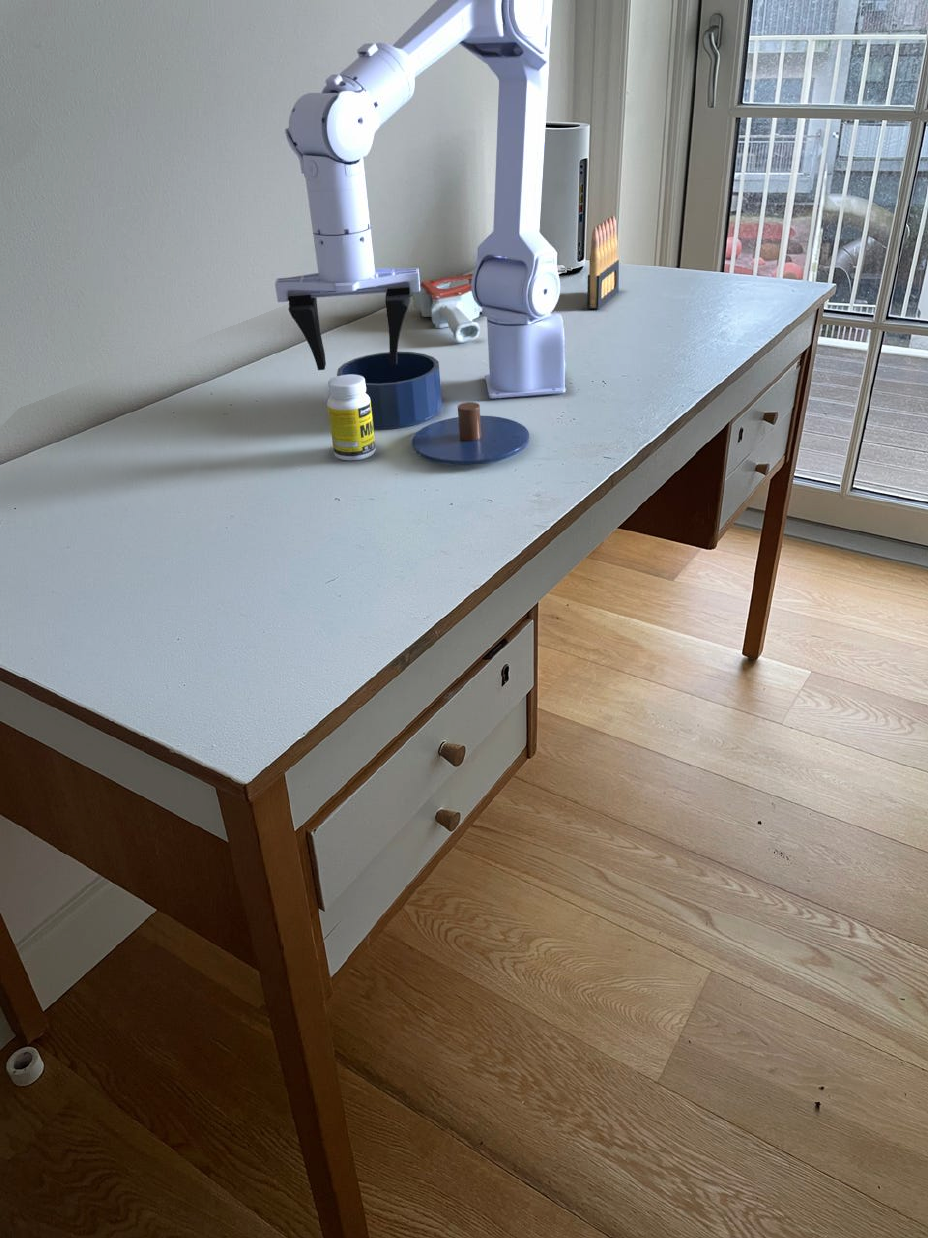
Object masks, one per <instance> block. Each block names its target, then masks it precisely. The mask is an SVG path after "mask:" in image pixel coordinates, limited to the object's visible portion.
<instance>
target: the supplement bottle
mask: <svg viewBox="0 0 928 1238" xmlns="http://www.w3.org/2000/svg"><path fill="white" fill-rule="evenodd" d="M327 388H328V389H327V390H328V395H329V396H330V397H329V398H328V400H327V404H326V406H327V413H328V419H329V426H330V435H331V442H332V450H333V454H334V456H335V457H336V458H337V459H339V460H342V461H361V460H364V459H368V458H370V457H371V456H372V455H374V454H375V453H376V449H377V447H376V438H375V436H376V435H375V429H374V428H373V419H372V410H371V401H370V397H369V396H368V395H367V394H366V393H365V392H366V385H365V379H364V377H362V376H360V375H341V376H337V375H336V376H334V377H332V378H330V379H328V382H327Z"/></svg>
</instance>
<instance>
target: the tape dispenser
mask: <svg viewBox="0 0 928 1238" xmlns="http://www.w3.org/2000/svg"><path fill="white" fill-rule="evenodd" d="M472 275H473V273H469V274H461V275H453V276H447V277H442V278H436V279H430V280H425V281H420V292H411V294H412V303H413V307H414V309H415V310H416V311H417V310H419V311H420V312H421V317H426V318H428V317H430V318H431V322H432V323H433V324H434V327H435V328H436V329H443V328H449V330H450V331H451V332H452V334H453V338H454V341H455V342H456V343H458V344H462V343H467V342H471V341H474V340H476V339H478V337H479V336H480V333H481V327H480V325H479V323H478V322H477V321H473V320H475V319H477V318H479V317H480V314H482V307H480V306H479V305H477V303H476V302H475V300H474V298H473V295H472V290H471V280H472ZM462 280H468V283H465V284H461V285H457V286H453V287H450V284H451V283H452V282H455V281H462Z"/></svg>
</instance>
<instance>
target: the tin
mask: <svg viewBox="0 0 928 1238" xmlns="http://www.w3.org/2000/svg"><path fill="white" fill-rule="evenodd" d="M341 375H360V376H362V377H364V379H365V385H366V392H365V393H366V394H367V395H368V396H369V397H370V401H371V410H372V419H373V428H374V430H395V429H396V430H397V429H403V428H410V427H412V426H413V427H414V426H418V425H420V424H423V423H426V422H428V421H430V420H432V419H434V418H436V417H437V416H439V415H440V414H441V412H442V410H443V400H442V398H443V397H442V388H441V387H442V386H441V373H440V361H438V359H436V358H435V357H434V356H431V355H429V354H426V353H421V352H416V351H415V352H414V351H397V364H396V365H391V363H390V351H388V352H387V351H386V352H377V353H372V354H366V355H363V356H359V357H356V358H353V359H351V360H349V361H347V362H344V363H343V364H342V365H340V366H339V367H338V368H337V372H336V377H337V376H341Z"/></svg>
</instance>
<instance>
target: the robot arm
mask: <svg viewBox="0 0 928 1238" xmlns="http://www.w3.org/2000/svg"><path fill="white" fill-rule="evenodd" d="M552 9H553V0H436V1H434V3H433V4H432V5H431V6H430V7H429V8H428V9H427V10H426V11H425V12H424V13H423V14H422V15H421V16H420V17H419V18H418V19H417V20H416V21H415V22H414V23H413V24H412V25H411V26H410V27H409V28H408V29H407V30H406V31H405V32H404V33H403V34H402V35H401V36H400V37H399V38H398V39H397V40H396V41H395V42H394V43H393V44H392V45H390V44H389V43H385V42H377V43H376V42H375V43H373V42H371V43H370V42H369V43H363V44H362V45H361V46H360V47H359V48H357V50H356V52H357V55H358V57H357V58H356V59H355V60H354V61H353V62H352V63H350V64H349V65H348V66H347V67H346V68H344V70H342V71H341V72H340V73H338V74H331V75H329V76H328V77H327V78H326V79H325V84H326V85H325V86H323V88H322V91H321V92H308V93H305V94H303V95H302V96H300V97H299V98H298V99H297V100H296V101H295V103H294V105H293V107H292V108H291V111H290V114H289V118H288V127H287V128H285V130H284V132H285V137H286V140H287V143H288V145H289V147H290V149H291V150H292V151H293V153H294V154H295V155H296V156H297V158H298V160H299V164H300V170H301V171H300V172H301V174H303V176H304V178H305V185H306V191H307V192H306V193H307V198H308V207H309V212H310V220H311V221H310V222H311V228H312V235H313V242H314V251H315V257H316V263H317V264H316V265H317V272H316V273H309V274H303V275H296V276H289V277H288V276H287V277H279V278H276V280H275V281H274V286H275V293H276V299H277V302H278V303H286V302H287V303H288V313H289V315H290V316H291V318H292V319H293V321H294V322H295V323H296V325H297V327H298V328H299V330H300V331H301V333H302V334H303V336H304V338H305V340H306V342H307V345H309V348H310V351H311V353H312V355H313V358H314V361H315V364H316V367H317V371H325V369H326V365H327V361H326V353H325V349H324V344H323V343H324V342H323V339H322V334H321V329H320V326H321V325H320V319H319V317H320V316H319V309H318V298H329V297H330V298H331V297H345V296H357V295H371V294H372V295H373V294H385V299H384V300H385V301H384V303H385V310H386V318H387V328H388V338H389V339H388V340H389V352H390V363H391V365H396V364H397V352H398V348H399V341H400V336H401V331H402V327H403V324H404V320H405V317H406V315H407V311H408V309H409V305H410V302H411V293H412V292H420V282H421V281H420V280H421V279H420V272H419V271H420V269H419V268H418V267H414V268H413V267H411V268H377V267H376V266H375V257H374V247H373V246H374V245H373V239H372V238H373V237H372V228H371V219H370V211H369V210H370V209H369V202H368V201H369V200H368V192H367V182H366V181H367V180H366V173H365V161H364V157H367V156H368V154H369V153H370V151H371V149H372V146H373V143H374V139H375V134H376V132H377V130H378V129H379V128H380V127H381V126H382V125H383V124H385V122H386V121H387V120H388V119H389V118H391V117H392V116H393V115H394V114H396V112H397V111H398V110H399V109H401V108H402V107H403V106H404V105H405V104H406V103H408V101H409V100H411V99H412V97H413V95H414V93H415V88H416V87H415V81H416V80H415V79H416V78H417V76H419V75H420V74H421V73H422V72H424V71H425V70H427V69H428V68H429V67H430V66H431V65H433V64H434V63H436V62H437V61H439V60H440V59H441V58H442V57H443V56H445V55H446V54H447V53H448V52H450V51H451V50H453V48H455V47H457V45H460V46H461V47H462V48H464V49H465V50H466V51H468V52H470V53H471V54H472V55H474V56H475V57H476V58H478V59H479V60H481V61H482V62H483V63H485V64H486V65H487V66H488V68H489V69H490V70H491V72H493V74H494V75H495V76H496V78H497V80H498V101H497V123H496V124H497V125H496V126H497V127H496V149H495V150H496V152H495V173H494V174H495V176H494V177H495V178H494V202H493V203H494V204H493V227H492V228H493V229H492V232H491V233H490V234H488V236H487V237H486V238H485V239H484V240H483V241H482V242H481V243H480V244H479V245H478V246H477V256H476V262H475V263H476V264H475V267H474V269H473V271H472V274H473V275H472V280H471V290H472V295H473V298H474V300H475V302H476V303H477V305H479V306H480V307H482V313H481V315H482V316H483V317H485V318H486V325H487V326H486V328H487V347H488V368H489V370H488V371H489V374H488V373H487V374H485V376H484V377H485V378H484V379H485V383H486V388H487V393H488V398H489V399H503V398H515V397H518V398H519V397H529V396H542V395H554V394H555V395H556V394H564V393H566V387H565V385H566V382H565V379H566V377H565V374H566V360H565V330H564V321H563V316H562V314H561V313H552V312H553V311H554V309H555V308H556V305H557V303H558V301H559V298H560V293H561V280H560V275H559V273H558V272H559V271H558V265H557V264H558V263H557V262H558V252H557V251H556V249H555V248H554V247H553V245H551V243H549V241H548V240H547V239H546V238H545V237H544V236H543V235H542V233H541V232H540V229H541V225H540V224H541V210H542V209H541V208H542V191H543V175H544V173H543V172H544V161H545V160H544V159H545V157H544V156H545V140H546V127H547V126H546V124H547V109H548V108H547V106H548V93H549V92H548V91H549V90H548V89H549V76H550V75H549V71H550V44H551V29H552V28H551V27H552V13H553V12H552ZM375 267H376V268H375Z"/></svg>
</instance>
